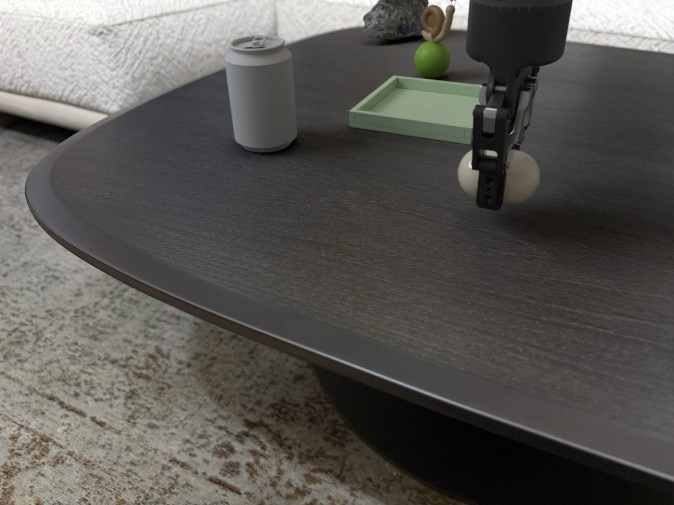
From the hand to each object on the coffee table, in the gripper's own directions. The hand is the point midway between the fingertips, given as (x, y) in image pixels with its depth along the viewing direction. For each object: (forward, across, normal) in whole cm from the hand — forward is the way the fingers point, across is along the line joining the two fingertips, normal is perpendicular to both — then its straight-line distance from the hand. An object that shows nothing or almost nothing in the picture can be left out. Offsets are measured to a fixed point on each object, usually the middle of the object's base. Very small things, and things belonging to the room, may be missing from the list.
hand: (496, 193), depth 54 cm
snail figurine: (+3, +39, +18) cm, 43 cm away
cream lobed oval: (+1, 0, 0) cm, 1 cm away
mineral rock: (+3, +60, +32) cm, 68 cm away
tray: (+3, +24, +14) cm, 28 cm away
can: (+3, +8, +29) cm, 30 cm away
